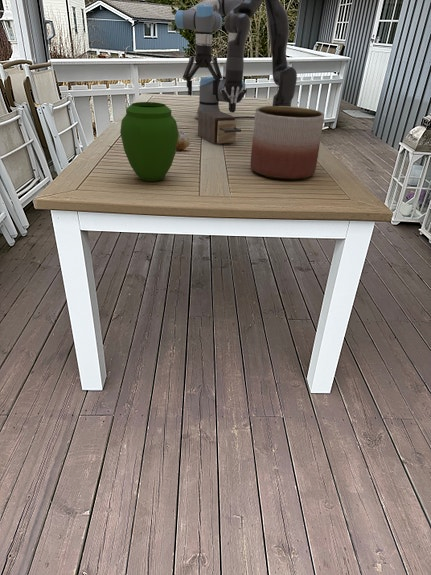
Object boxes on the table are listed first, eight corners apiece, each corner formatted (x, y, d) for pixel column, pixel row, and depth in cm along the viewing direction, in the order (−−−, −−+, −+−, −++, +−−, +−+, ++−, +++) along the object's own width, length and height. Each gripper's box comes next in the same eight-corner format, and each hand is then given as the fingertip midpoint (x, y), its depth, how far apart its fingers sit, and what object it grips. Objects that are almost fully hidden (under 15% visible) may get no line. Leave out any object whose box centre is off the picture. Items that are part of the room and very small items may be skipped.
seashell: (189, 148, 186) (189, 129, 181) (190, 151, 181) (190, 132, 177) (168, 148, 184) (168, 129, 180) (169, 151, 180) (168, 132, 175)
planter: (324, 181, 152) (336, 118, 140) (258, 182, 148) (265, 117, 136) (301, 162, 173) (310, 106, 162) (243, 162, 169) (248, 104, 157)
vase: (131, 189, 135) (125, 110, 122) (118, 172, 150) (112, 100, 137) (186, 184, 142) (187, 109, 129) (169, 168, 157) (167, 99, 144)
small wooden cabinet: (233, 142, 199) (235, 117, 193) (214, 144, 195) (215, 117, 189) (215, 134, 215) (216, 109, 208) (197, 135, 211) (198, 110, 204)
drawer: (241, 145, 192) (242, 123, 187) (223, 146, 188) (224, 123, 183) (218, 133, 210) (219, 113, 205) (202, 134, 207) (202, 114, 202)
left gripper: (222, 45, 198) (220, 93, 209) (175, 43, 187) (176, 94, 198) (230, 46, 193) (227, 95, 204) (182, 44, 182) (182, 96, 193)
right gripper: (243, 68, 180) (240, 110, 190) (216, 67, 175) (215, 111, 185) (252, 69, 175) (248, 113, 184) (224, 69, 170) (222, 114, 179)
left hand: (202, 95), depth 201 cm, fingers open, 13 cm apart
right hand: (231, 112), depth 184 cm, fingers closed
